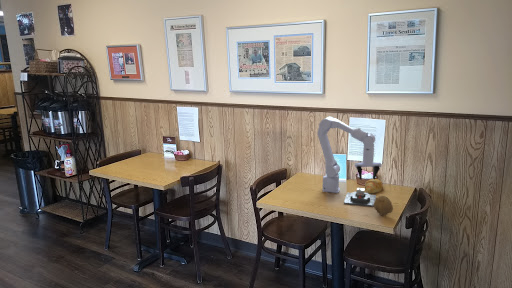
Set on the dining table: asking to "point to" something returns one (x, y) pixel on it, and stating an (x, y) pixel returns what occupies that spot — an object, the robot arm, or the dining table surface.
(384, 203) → the natural sponge
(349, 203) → the stand base
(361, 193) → the column
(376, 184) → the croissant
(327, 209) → the dining table surface
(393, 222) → the dining table surface
